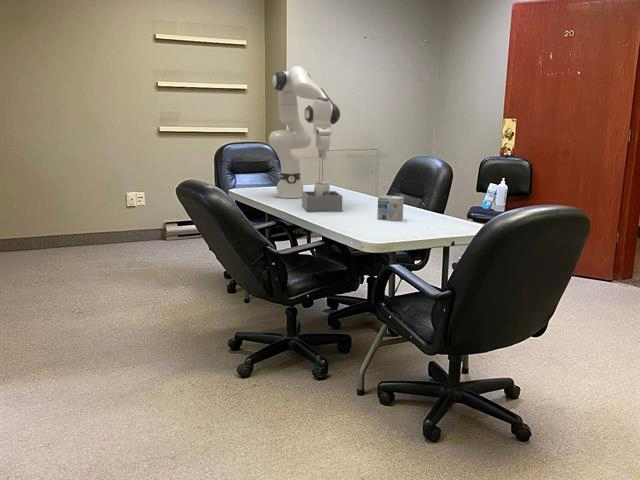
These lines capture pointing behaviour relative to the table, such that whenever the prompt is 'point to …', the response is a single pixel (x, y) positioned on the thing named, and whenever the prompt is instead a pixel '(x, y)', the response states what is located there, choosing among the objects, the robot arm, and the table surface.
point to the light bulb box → (390, 208)
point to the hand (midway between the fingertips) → (322, 158)
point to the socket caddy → (322, 202)
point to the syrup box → (322, 188)
